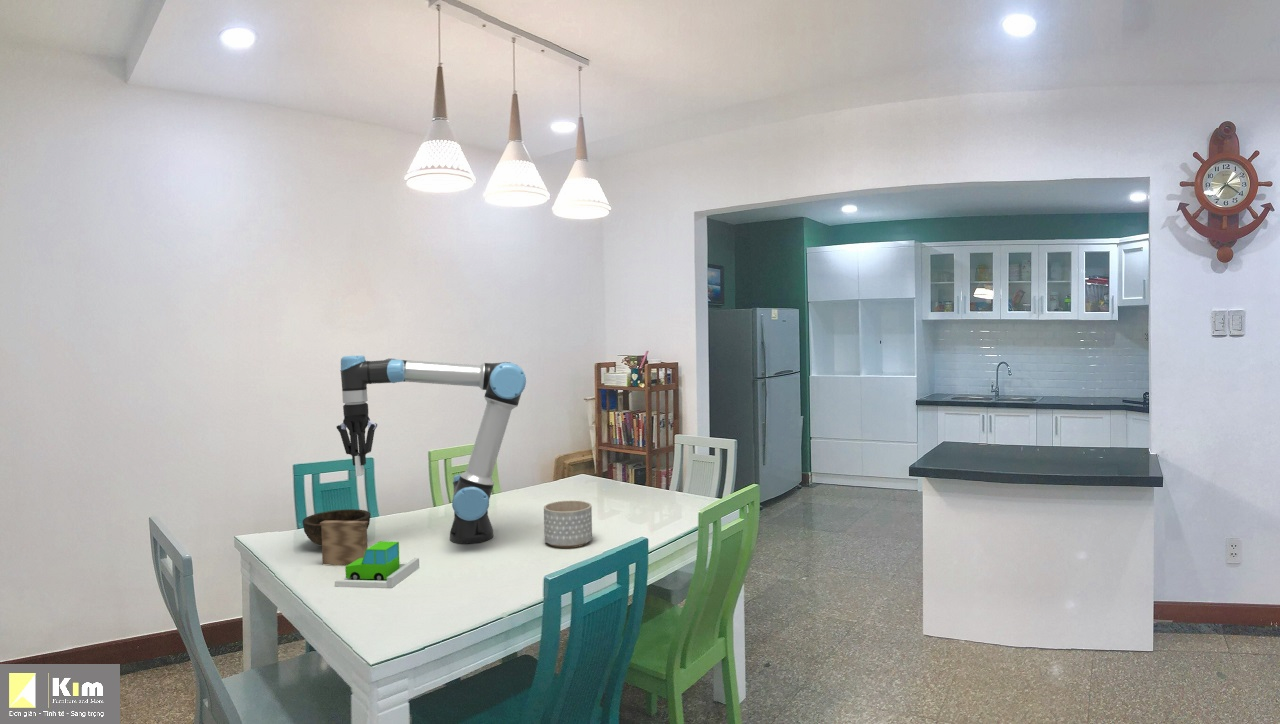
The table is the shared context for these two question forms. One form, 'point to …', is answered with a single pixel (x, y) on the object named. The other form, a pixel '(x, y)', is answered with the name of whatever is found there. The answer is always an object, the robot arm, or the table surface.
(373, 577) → the toy car
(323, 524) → the brown textured panel
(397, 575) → the bay
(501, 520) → the table surface
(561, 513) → the planter
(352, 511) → the bowl
